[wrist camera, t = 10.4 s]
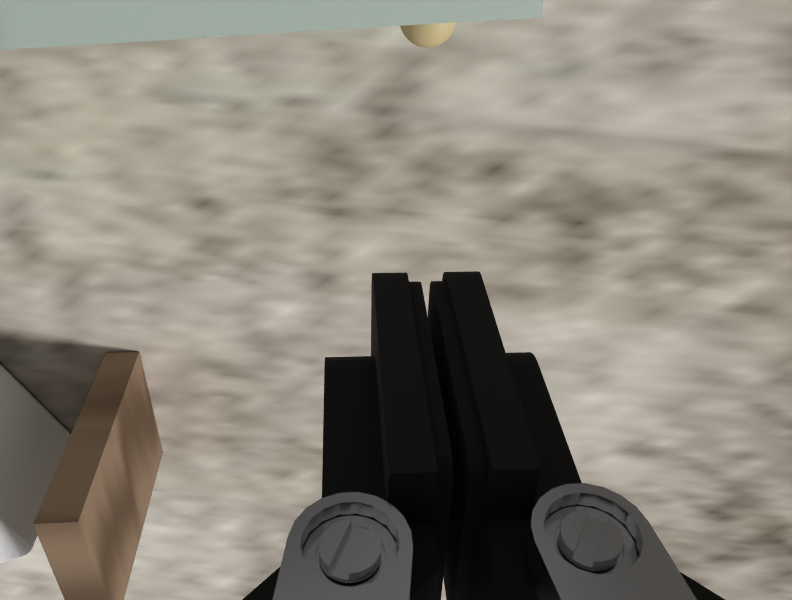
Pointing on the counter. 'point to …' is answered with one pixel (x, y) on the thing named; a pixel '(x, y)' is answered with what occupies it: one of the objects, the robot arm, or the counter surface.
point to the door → (237, 18)
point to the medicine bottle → (24, 464)
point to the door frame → (102, 485)
